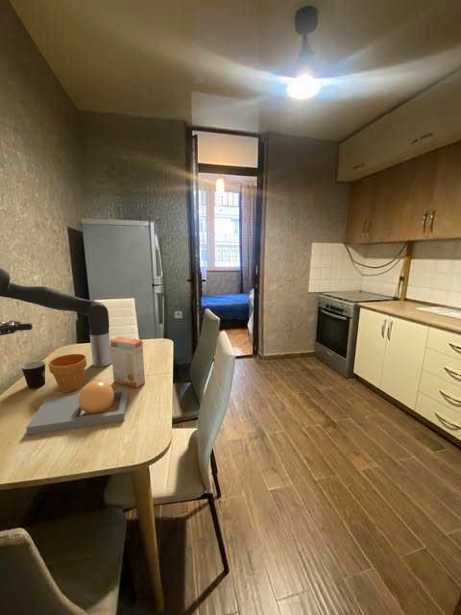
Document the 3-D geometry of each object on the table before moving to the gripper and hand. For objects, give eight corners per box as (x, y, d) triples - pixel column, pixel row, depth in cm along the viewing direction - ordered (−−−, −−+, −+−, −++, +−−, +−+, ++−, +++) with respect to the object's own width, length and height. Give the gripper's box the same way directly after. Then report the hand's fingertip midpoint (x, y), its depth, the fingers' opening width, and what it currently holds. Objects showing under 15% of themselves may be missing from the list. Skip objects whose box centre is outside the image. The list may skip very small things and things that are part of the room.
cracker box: (145, 382, 125) (143, 340, 121) (136, 388, 120) (133, 344, 116) (123, 376, 131) (120, 335, 127) (113, 382, 126) (109, 339, 121)
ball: (84, 382, 108) (113, 394, 112) (68, 411, 99) (99, 423, 103) (94, 370, 101) (123, 383, 105) (77, 399, 92) (110, 413, 96)
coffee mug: (36, 391, 117) (32, 369, 115) (19, 389, 119) (16, 367, 117) (58, 378, 128) (55, 359, 126) (42, 377, 130) (39, 357, 128)
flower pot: (50, 385, 122) (46, 358, 119) (84, 376, 131) (82, 351, 128) (55, 399, 111) (50, 369, 109) (92, 388, 120) (89, 360, 117)
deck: (27, 435, 90) (26, 427, 89) (47, 405, 107) (46, 398, 106) (124, 420, 98) (123, 413, 97) (128, 395, 115) (127, 388, 114)
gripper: (-40, 324, 90) (22, 321, 94) (-16, 315, 102) (37, 312, 107) (-35, 346, 91) (25, 341, 96) (-13, 334, 104) (39, 331, 108)
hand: (31, 326), depth 101 cm, fingers closed
